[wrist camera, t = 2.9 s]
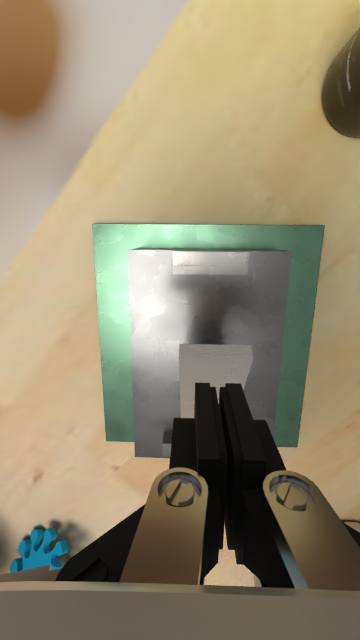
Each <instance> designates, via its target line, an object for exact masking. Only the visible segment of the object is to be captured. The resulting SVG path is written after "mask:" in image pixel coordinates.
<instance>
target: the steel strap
mask: <svg viewBox="0 0 360 640" xmlns="http://www.w3.org/2000/svg"><path fill="white" fill-rule="evenodd" d="M252 360H253V356H252V348H251V345H212V344H179V381H180V409H181V418H194V403H195V383H210V387H216V392H217V398H218V404H219V390H220V387H225V384H226V383H241V385H242V388H243V390H244V387H245V383H246V380H247V377H248V373H249V370H250V367H251V364H252Z"/></svg>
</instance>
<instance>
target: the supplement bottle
mask: <svg viewBox="0 0 360 640" xmlns="http://www.w3.org/2000/svg"><path fill="white" fill-rule="evenodd" d="M323 105H324V110H325V113H326V115H327V117H328V119H329V121H330V122H331V124H332V125H333V126H334V127H335V128H336V129H337V130H338V131H340V132H341V133H343V134H345V135H347V136H351V137H359V138H360V28H359V29H358V30H357V31H356V33H355V34H354V35H353V36H352V38H351V39H350V40H349V41H348V42H347V44H346V45H345V46H344V47H343V49H342V50H341V51H340V52H339V54H338V55H337V56H336V58H335V59H334V61H333V63H332V64H331V66H330V68H329V70H328V73H327V75H326V78H325V82H324V87H323Z"/></svg>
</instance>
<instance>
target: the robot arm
mask: <svg viewBox="0 0 360 640" xmlns="http://www.w3.org/2000/svg"><path fill="white" fill-rule="evenodd" d="M224 521H225V530H226V538H227V546H228V549H229V550H235V555H236V562H237V564H243V565H245V566H246V567H247V568H248V569H249V570H250V571H251V572H252V573H253V574H254V584H255V587H242V586H215V585H204V581H205V576H206V575H207V574H208V573H209V572H210V571H211V570H212V568H213V567H214V566H215V565H216V564H217V563H218V552H219V549H223V535H224ZM0 640H360V523H356V522H342V521H341V520H340V518H339V517H338V516H337V514H336V513H335V511H334V510H333V508H332V507H331V505H330V504H329V503H328V501H327V500H326V498H325V497H324V495H323V494H322V492H321V491H320V489H319V488H318V487H317V486H316V485H315V484H314V483H313V482H312V481H311V480H309V479H308V478H307V477H305V476H303V475H301V474H299V473H296V472H292V471H286V468H285V466H284V463H283V461H282V458H281V456H280V453H279V451H278V449H277V446H276V444H275V441H274V439H273V436H272V434H271V431H270V429H269V426H268V424H267V422H266V420H253V418H252V415H251V412H250V409H249V406H248V403H247V400H246V397H245V394H244V391H243V388H242V385H241V383H226V384H225V387H220V390H219V404H218V398H217V392H216V387H210V383H195V403H194V418H174V419H173V430H172V442H171V454H170V465H169V469H168V470H166V471H164V472H162V473H161V474H159V475H158V476H157V477H156V478H155V480H154V482H153V484H152V487H151V490H150V493H149V496H148V499H147V501H146V504H145V505H143V506H142V507H141V508H139V509H138V510H137V511H135V512H134V513H132V514H131V515H130V516H128V517H127V518H126V519H124V520H123V521H121V522H120V523H119V524H117V525H116V526H115V527H113V528H112V529H110V530H109V531H108V532H106V533H105V534H103V535H102V536H101V537H99V538H98V539H97V540H95V541H94V542H92V543H91V544H90V545H88V546H87V547H86V548H84V549H83V550H81V551H80V552H79V553H77V554H76V555H75V556H73V557H72V558H71V559H70V560H69V561H68V562H67V563H66V564H65V565H64V566H63V568H60V569H56V570H51V565H47V566H42V567H37V568H33V569H28V570H23V571H18V572H13V573H8V574H3V575H0Z"/></svg>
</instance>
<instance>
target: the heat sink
mask: <svg viewBox="0 0 360 640" xmlns="http://www.w3.org/2000/svg"><path fill="white" fill-rule="evenodd" d="M324 228H325V225H179V224H93V240H94V256H95V271H96V287H97V303H98V319H99V335H100V351H101V367H102V382H103V398H104V414H105V430H106V441H120V442H135V457H153V458H170V454H171V442H172V430H173V419H174V418H181V409H180V381H179V344H212V345H251V348H252V356H253V360H252V364H251V367H250V370H249V373H248V377H247V380H246V383H245V387H244V390H243V391H244V394H245V397H246V400H247V403H248V406H249V409H250V412H251V415H252V418H253V420H266V422H267V424H268V426H269V429H270V431H271V434H272V436H273V439H274V441H275V444H276V446H277V447H297V445H298V437H299V429H300V421H301V413H302V404H303V396H304V388H305V380H306V372H307V364H308V356H309V348H310V340H311V332H312V324H313V316H314V308H315V300H316V292H317V284H318V276H319V268H320V260H321V252H322V244H323V236H324Z"/></svg>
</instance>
